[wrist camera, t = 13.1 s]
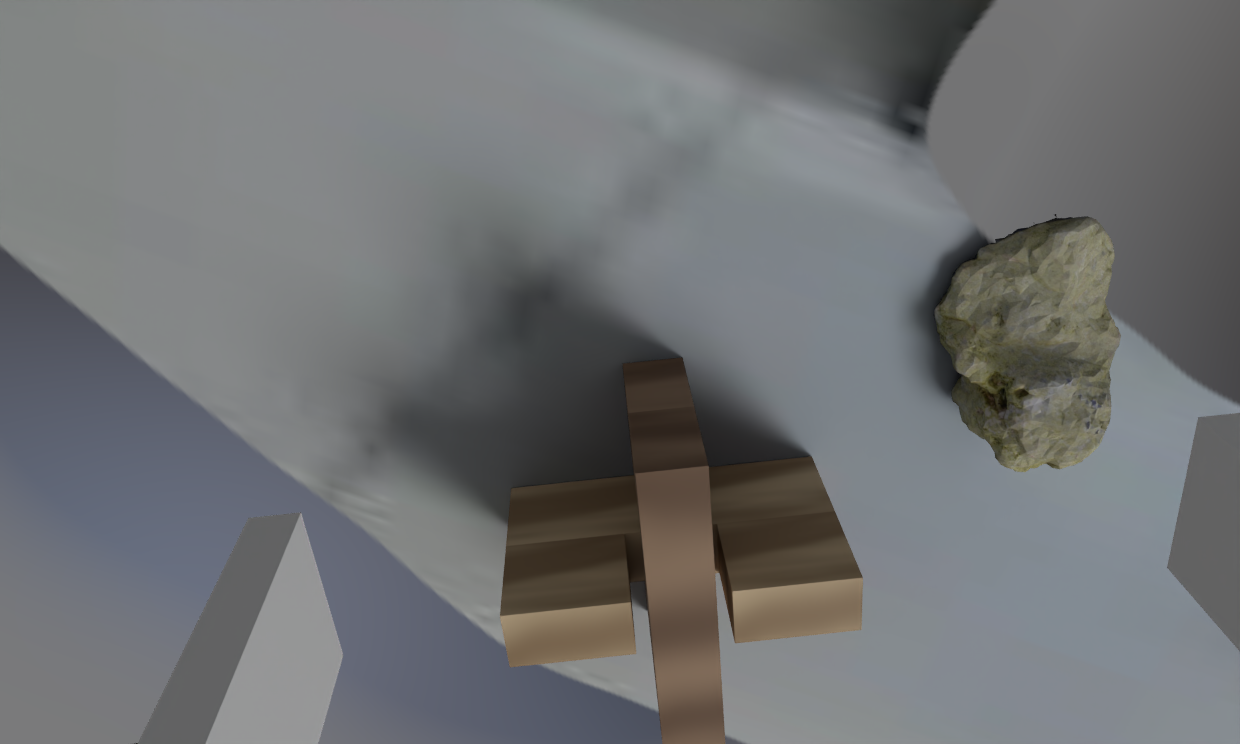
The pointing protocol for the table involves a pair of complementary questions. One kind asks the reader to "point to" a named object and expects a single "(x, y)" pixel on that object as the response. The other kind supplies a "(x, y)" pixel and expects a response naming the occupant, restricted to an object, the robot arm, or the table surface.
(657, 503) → the walnut plate
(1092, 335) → the rock
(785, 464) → the oak board
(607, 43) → the table surface
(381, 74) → the table surface
